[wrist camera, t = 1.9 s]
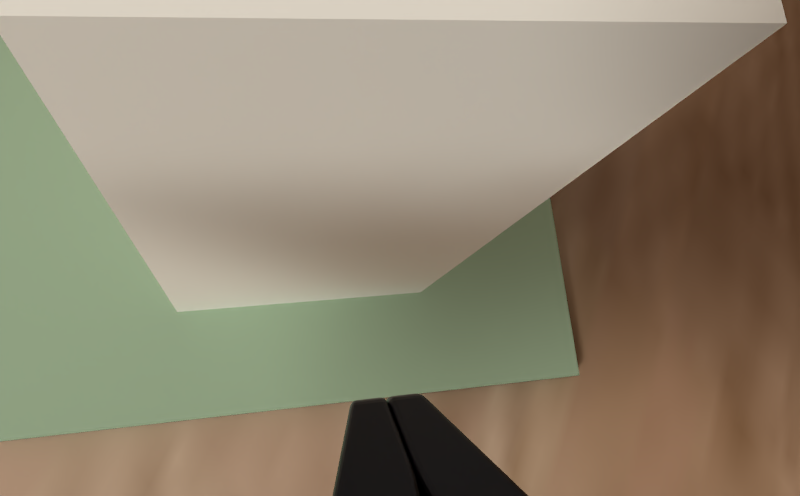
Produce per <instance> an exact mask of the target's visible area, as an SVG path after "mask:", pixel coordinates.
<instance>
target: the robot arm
mask: <svg viewBox="0 0 800 496" xmlns="http://www.w3.org/2000/svg"><path fill="white" fill-rule="evenodd" d="M333 496H528V495H527V494H526V493H525V492H524V491H523V490H522V489H520V488H519V487H518V486H517V485H516V484H515V483H514V482H513V481H512V480H511V479H510V478H509V477H508V476H507V475H506V474H505V473H504V472H503V471H502V470H501V469H500V468H498V467H497V466H496V465H495V464H494V463H493V462H492V461H491V460H490V459H489V458H488V457H487V456H486V455H485V454H484V453H483V452H482V451H481V450H480V449H479V448H478V447H477V446H475V445H474V444H473V443H472V442H471V441H470V440H469V439H468V438H467V437H466V436H465V435H464V434H463V433H462V432H461V431H460V430H459V429H458V428H457V427H456V426H455V425H453V424H452V423H451V422H450V421H449V420H448V419H447V418H446V417H445V416H444V415H443V414H442V413H441V412H440V411H439V410H438V409H437V408H436V407H435V406H434V405H433V404H431V403H430V402H429V401H428V400H427V399H426V398H425V397H424V396H422V395H420V394H417V393H415V394H406V395H397V396H391V397H389V398H388V399H387V401H386V400H385V399H384V398H380V397H379V398H371V399H362V400H355V401H353V402H352V404H351V406H350V410H349V415H348V420H347V425H346V430H345V436H344V441H343V446H342V451H341V456H340V461H339V466H338V471H337V476H336V481H335V486H334V491H333Z"/></svg>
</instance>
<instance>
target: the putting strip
mask: <svg viewBox="0 0 800 496" xmlns="http://www.w3.org/2000/svg"><path fill="white" fill-rule="evenodd" d="M577 375H579V370H578V364H577V358H576V352H575V345H574V339H573V333H572V327H571V321H570V315H569V309H568V303H567V297H566V291H565V285H564V279H563V273H562V267H561V261H560V255H559V249H558V243H557V237H556V230H555V224H554V218H553V212H552V206H551V200H550V198H548V199H547V200H546V201H544V202H543V203H542V204H540V205H539V206H537V207H536V208H535V209H533V210H532V211H531V212H529V213H528V214H527V215H525V216H524V217H522V218H521V219H520V220H518V221H517V222H516V223H514V224H513V225H512V226H510V227H509V228H507V229H506V230H505V231H503V232H502V233H501V234H499V235H498V236H497V237H495V238H494V239H492V240H491V241H490V242H488V243H487V244H486V245H484V246H483V247H482V248H480V249H479V250H478V251H476V252H475V253H473V254H472V255H471V256H469V257H468V258H467V259H465V260H464V261H463V262H461V263H460V264H458V265H457V266H456V267H454V268H453V269H452V270H450V271H449V272H448V273H446V274H445V275H443V276H442V277H441V278H439V279H438V280H437V281H435V282H434V283H433V284H431V285H430V286H428V287H427V288H426V289H424V290H423V291H422V292H419V293H407V294H395V295H382V296H370V297H357V298H345V299H333V300H320V301H308V302H296V303H283V304H271V305H259V306H246V307H234V308H221V309H209V310H197V311H184V312H177V311H176V309H175V308H174V306H173V305H172V303H171V301H170V300H169V298H168V297H167V295H166V294H165V292H164V291H163V289H162V287H161V286H160V284H159V283H158V281H157V280H156V278H155V276H154V275H153V273H152V272H151V270H150V269H149V267H148V266H147V264H146V262H145V261H144V259H143V258H142V256H141V255H140V253H139V251H138V250H137V248H136V247H135V245H134V244H133V242H132V240H131V239H130V237H129V236H128V234H127V233H126V231H125V230H124V228H123V226H122V225H121V223H120V222H119V220H118V219H117V217H116V215H115V214H114V212H113V211H112V209H111V208H110V206H109V205H108V203H107V201H106V200H105V198H104V197H103V195H102V194H101V192H100V190H99V189H98V187H97V186H96V184H95V183H94V181H93V180H92V178H91V176H90V175H89V173H88V172H87V170H86V169H85V167H84V165H83V164H82V162H81V161H80V159H79V158H78V156H77V154H76V153H75V151H74V150H73V148H72V147H71V145H70V144H69V142H68V140H67V139H66V137H65V136H64V134H63V133H62V131H61V129H60V128H59V126H58V125H57V123H56V122H55V120H54V119H53V117H52V115H51V114H50V112H49V111H48V109H47V108H46V106H45V104H44V103H43V101H42V100H41V98H40V97H39V95H38V93H37V92H36V90H35V89H34V87H33V86H32V84H31V83H30V81H29V79H28V78H27V76H26V75H25V73H24V72H23V70H22V68H21V67H20V65H19V64H18V62H17V61H16V59H15V58H14V56H13V54H12V53H11V51H10V50H9V48H8V47H7V45H6V43H5V42H4V40H3V39H2V37H1V36H0V441H9V440H18V439H26V438H35V437H44V436H53V435H61V434H70V433H79V432H88V431H96V430H105V429H114V428H123V427H131V426H140V425H149V424H158V423H166V422H175V421H184V420H193V419H201V418H210V417H219V416H228V415H236V414H245V413H254V412H263V411H271V410H280V409H289V408H298V407H306V406H315V405H324V404H333V403H341V402H350V401H355V400H362V399H371V398H379V397H380V398H385V397H391V396H397V395H406V394H415V393H417V394H420V393H429V392H438V391H446V390H455V389H464V388H473V387H481V386H490V385H499V384H508V383H516V382H525V381H534V380H543V379H551V378H560V377H569V376H577Z"/></svg>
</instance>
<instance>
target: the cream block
mask: <svg viewBox="0 0 800 496" xmlns="http://www.w3.org/2000/svg"><path fill="white" fill-rule="evenodd" d="M785 24H787V21H786V17H785V13H784V9H783V5H782V1H781V0H0V36H1V37H2V39H3V40H4V42H5V43H6V45H7V47H8V48H9V50H10V51H11V53H12V54H13V56H14V58H15V59H16V61H17V62H18V64H19V65H20V67H21V68H22V70H23V72H24V73H25V75H26V76H27V78H28V79H29V81H30V83H31V84H32V86H33V87H34V89H35V90H36V92H37V93H38V95H39V97H40V98H41V100H42V101H43V103H44V104H45V106H46V108H47V109H48V111H49V112H50V114H51V115H52V117H53V119H54V120H55V122H56V123H57V125H58V126H59V128H60V129H61V131H62V133H63V134H64V136H65V137H66V139H67V140H68V142H69V144H70V145H71V147H72V148H73V150H74V151H75V153H76V154H77V156H78V158H79V159H80V161H81V162H82V164H83V165H84V167H85V169H86V170H87V172H88V173H89V175H90V176H91V178H92V180H93V181H94V183H95V184H96V186H97V187H98V189H99V190H100V192H101V194H102V195H103V197H104V198H105V200H106V201H107V203H108V205H109V206H110V208H111V209H112V211H113V212H114V214H115V215H116V217H117V219H118V220H119V222H120V223H121V225H122V226H123V228H124V230H125V231H126V233H127V234H128V236H129V237H130V239H131V240H132V242H133V244H134V245H135V247H136V248H137V250H138V251H139V253H140V255H141V256H142V258H143V259H144V261H145V262H146V264H147V266H148V267H149V269H150V270H151V272H152V273H153V275H154V276H155V278H156V280H157V281H158V283H159V284H160V286H161V287H162V289H163V291H164V292H165V294H166V295H167V297H168V298H169V300H170V301H171V303H172V305H173V306H174V308H175V309H176V311H177V312H184V311H197V310H209V309H221V308H234V307H246V306H259V305H271V304H283V303H296V302H308V301H320V300H333V299H345V298H357V297H370V296H382V295H395V294H407V293H419V292H422V291H423V290H424V289H426V288H427V287H428V286H430V285H431V284H433V283H434V282H435V281H437V280H438V279H439V278H441V277H442V276H443V275H445V274H446V273H448V272H449V271H450V270H452V269H453V268H454V267H456V266H457V265H458V264H460V263H461V262H463V261H464V260H465V259H467V258H468V257H469V256H471V255H472V254H473V253H475V252H476V251H478V250H479V249H480V248H482V247H483V246H484V245H486V244H487V243H488V242H490V241H491V240H492V239H494V238H495V237H497V236H498V235H499V234H501V233H502V232H503V231H505V230H506V229H507V228H509V227H510V226H512V225H513V224H514V223H516V222H517V221H518V220H520V219H521V218H522V217H524V216H525V215H527V214H528V213H529V212H531V211H532V210H533V209H535V208H536V207H537V206H539V205H540V204H542V203H543V202H544V201H546V200H547V199H548V198H550V197H551V196H552V195H554V194H555V193H557V192H558V191H559V190H561V189H562V188H563V187H565V186H566V185H567V184H569V183H570V182H572V181H573V180H574V179H576V178H577V177H578V176H580V175H581V174H582V173H584V172H585V171H586V170H588V169H589V168H591V167H592V166H593V165H595V164H596V163H597V162H599V161H600V160H601V159H603V158H604V157H606V156H607V155H608V154H610V153H611V152H612V151H614V150H615V149H616V148H618V147H619V146H621V145H622V144H623V143H625V142H626V141H627V140H629V139H630V138H631V137H633V136H634V135H636V134H637V133H638V132H640V131H641V130H642V129H644V128H645V127H646V126H648V125H649V124H651V123H652V122H653V121H655V120H656V119H657V118H659V117H660V116H661V115H663V114H664V113H666V112H667V111H668V110H670V109H671V108H672V107H674V106H675V105H676V104H678V103H679V102H681V101H682V100H683V99H685V98H686V97H687V96H689V95H690V94H691V93H693V92H694V91H695V90H697V89H698V88H700V87H701V86H702V85H704V84H705V83H706V82H708V81H709V80H710V79H712V78H713V77H715V76H716V75H717V74H719V73H720V72H721V71H723V70H724V69H725V68H727V67H728V66H730V65H731V64H732V63H734V62H735V61H736V60H738V59H739V58H740V57H742V56H743V55H745V54H746V53H747V52H749V51H750V50H751V49H753V48H754V47H755V46H757V45H758V44H760V43H761V42H762V41H764V40H765V39H766V38H768V37H769V36H770V35H772V34H773V33H775V32H776V31H777V30H779V29H780V28H781V27H783V26H784V25H785Z"/></svg>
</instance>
